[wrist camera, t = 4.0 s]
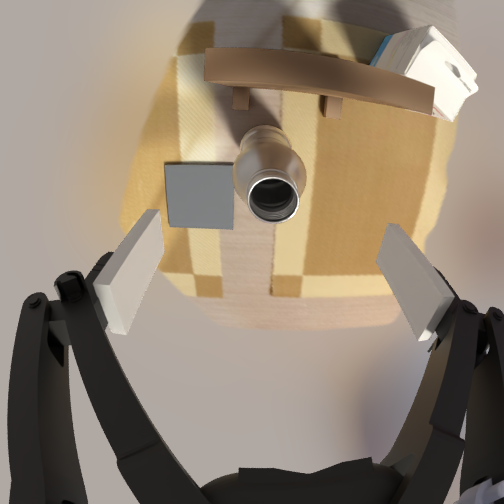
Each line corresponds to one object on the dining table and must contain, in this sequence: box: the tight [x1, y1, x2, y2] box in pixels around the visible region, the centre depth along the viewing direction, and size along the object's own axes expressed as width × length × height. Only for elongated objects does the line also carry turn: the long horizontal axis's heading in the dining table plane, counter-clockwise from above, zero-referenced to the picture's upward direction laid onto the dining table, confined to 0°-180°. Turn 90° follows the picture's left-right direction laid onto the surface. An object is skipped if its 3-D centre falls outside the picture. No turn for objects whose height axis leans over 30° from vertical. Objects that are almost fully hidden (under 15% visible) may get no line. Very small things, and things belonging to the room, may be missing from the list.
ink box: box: [369, 25, 478, 122], centre depth 23 cm, size 9×8×13 cm
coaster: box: [165, 164, 234, 230], centre depth 40 cm, size 10×10×1 cm
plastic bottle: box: [232, 125, 307, 224], centre depth 27 cm, size 6×7×20 cm
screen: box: [204, 48, 435, 119], centre depth 22 cm, size 8×14×22 cm, turn 87°
